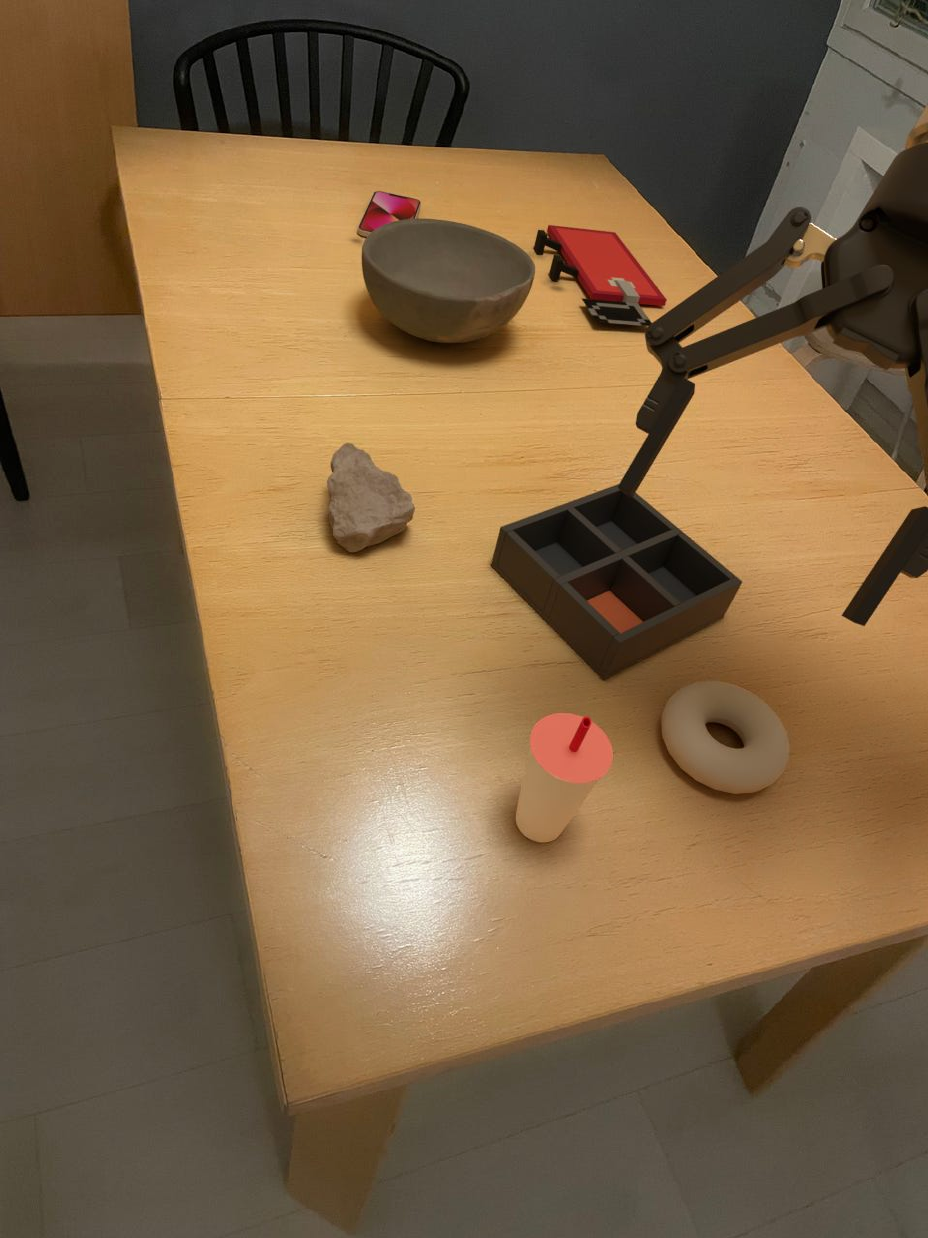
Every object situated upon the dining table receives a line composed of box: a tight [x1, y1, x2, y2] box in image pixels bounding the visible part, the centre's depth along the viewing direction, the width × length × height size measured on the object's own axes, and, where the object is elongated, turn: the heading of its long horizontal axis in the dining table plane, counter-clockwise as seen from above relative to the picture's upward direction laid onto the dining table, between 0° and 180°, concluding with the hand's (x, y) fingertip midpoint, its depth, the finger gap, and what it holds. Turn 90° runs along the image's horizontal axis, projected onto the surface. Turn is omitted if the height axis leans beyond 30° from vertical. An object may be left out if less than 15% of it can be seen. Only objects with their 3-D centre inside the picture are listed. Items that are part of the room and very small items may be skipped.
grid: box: [490, 483, 743, 681], centre depth 78 cm, size 15×15×5 cm
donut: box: [660, 680, 791, 795], centre depth 68 cm, size 10×4×10 cm
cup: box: [515, 712, 614, 844], centre depth 57 cm, size 5×5×12 cm
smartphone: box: [357, 190, 422, 238], centre depth 128 cm, size 7×1×15 cm
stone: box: [326, 442, 416, 553], centre depth 78 cm, size 10×8×6 cm
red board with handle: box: [533, 224, 668, 327], centre depth 125 cm, size 30×3×15 cm
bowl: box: [361, 217, 536, 344], centre depth 105 cm, size 20×20×10 cm
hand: (735, 555), depth 47 cm, fingers open, 13 cm apart
